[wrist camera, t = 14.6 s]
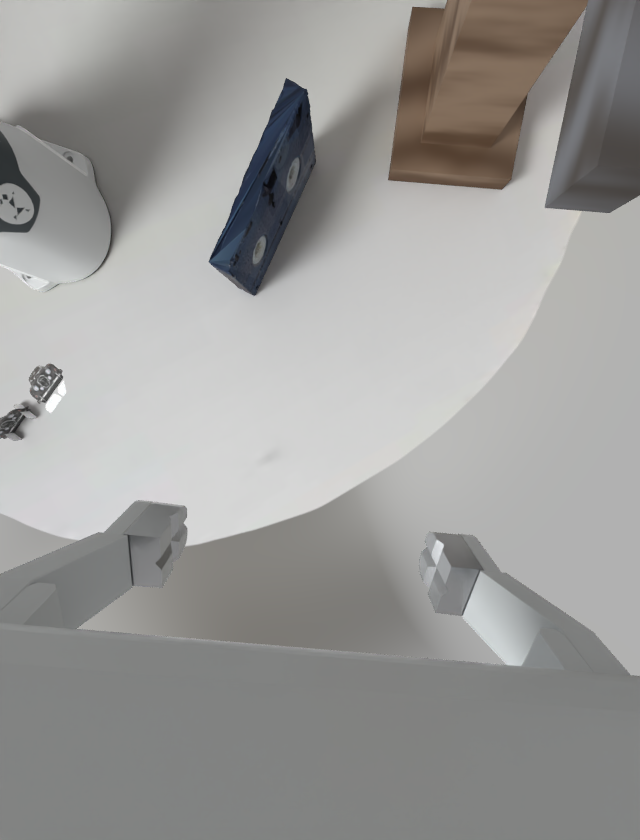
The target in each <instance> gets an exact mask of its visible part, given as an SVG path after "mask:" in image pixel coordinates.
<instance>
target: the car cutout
mask: <svg viewBox="0 0 640 840" xmlns="http://www.w3.org/2000/svg"><path fill="white" fill-rule="evenodd" d="M59 376H60V377H59ZM62 379H63V376H62V370H61V369H58V368H56V367H55V366H54V365H53V364H47V365H46V366H45V367H42V366H37V367H36V368H35V369H34V371H33V372H32V373H31V375H30V377H29V381H30V383H31V388H30V393H31V395H32V396H33V397H34V398H35V399H37V400H38V401H37V402H38V403H39V404H40V403H41V402H44V403H45V402H46V401H47V400H48V398H49V397H50V396H51V394H52V393H53V391H54V390H55V389H56V387H57V386H58V384H59V383H60V382H61V380H62ZM62 383H63V384H62ZM62 383H61V384H60V386H59V387H58V392H59V393H60V394H61V395H62V396H64V395H65V393H66V389H65V383H64V380H63V381H62ZM61 399H62V398H61V397H60V396H59V395H58V394H53V395H52V397H51V398H50V400H49V401H48V402H47V404H46V409H47V411H49V412H50V413H52V411H53V410H54V409H55V407H56V406H57V404H58V403H59V402H60V400H61ZM51 401H52V402H53V403H52V402H51ZM14 408H15V409H14V410H12V411H10V412H9V413H8V414H7V415H6V416H4V417H2V418H0V438H3V439H5V438H7V437H8V438H9V439H11V440H14V441H18V440H22V439H21V438H20V437H19V436H17V435H16V434H15V433H14V432H15V431H16V429H17V428H18V426H19V425H20V423H21V422H22V421H23V419H24V418H25V417H27V418H30V419H34V418H37V417H36V416H35V415H33V414H32V413H31V412H30V409H28V406H27V407H24V406H23V405H21V404H16V405H14Z"/></svg>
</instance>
